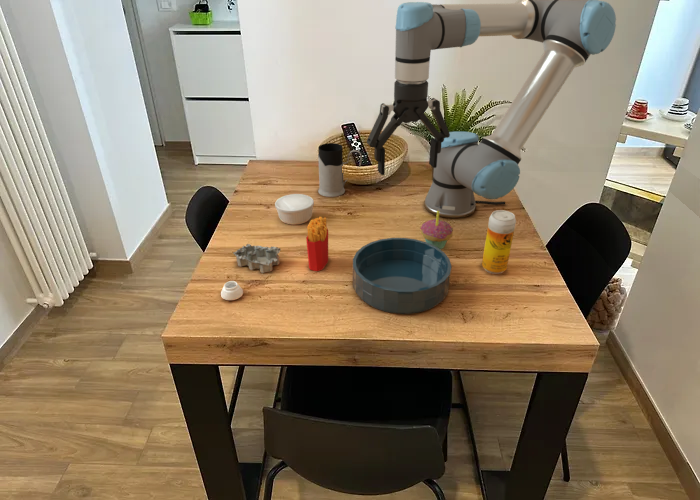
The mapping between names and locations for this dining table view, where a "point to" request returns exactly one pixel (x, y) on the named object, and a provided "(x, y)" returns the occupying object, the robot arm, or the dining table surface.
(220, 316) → the dining table surface
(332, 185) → the glass holder
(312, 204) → the ramekin
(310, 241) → the french fries
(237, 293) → the lidless jar
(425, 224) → the cupcake
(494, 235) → the beer can
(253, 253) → the egg carton
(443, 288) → the bowl
